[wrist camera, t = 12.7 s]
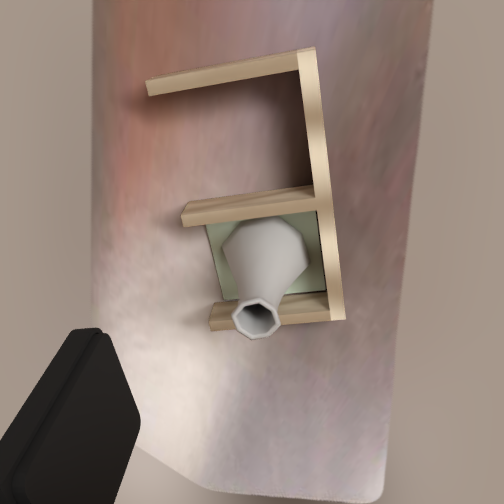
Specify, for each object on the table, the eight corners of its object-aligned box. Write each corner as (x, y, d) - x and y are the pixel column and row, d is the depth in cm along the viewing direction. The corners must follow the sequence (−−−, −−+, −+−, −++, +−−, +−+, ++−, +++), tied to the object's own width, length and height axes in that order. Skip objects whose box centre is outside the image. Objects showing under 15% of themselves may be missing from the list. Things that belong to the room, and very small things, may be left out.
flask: (256, 302, 43) (244, 378, 34) (207, 241, 41) (180, 306, 32) (325, 263, 41) (330, 334, 32) (277, 197, 38) (268, 254, 30)
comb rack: (157, 75, 35) (145, 81, 33) (314, 46, 33) (315, 49, 31) (216, 311, 44) (210, 331, 42) (343, 299, 42) (345, 319, 40)
